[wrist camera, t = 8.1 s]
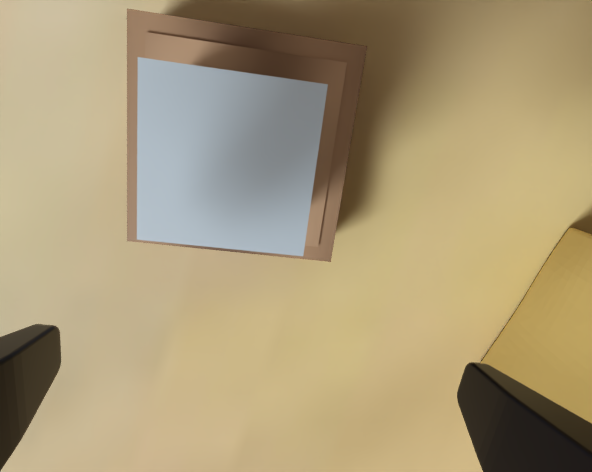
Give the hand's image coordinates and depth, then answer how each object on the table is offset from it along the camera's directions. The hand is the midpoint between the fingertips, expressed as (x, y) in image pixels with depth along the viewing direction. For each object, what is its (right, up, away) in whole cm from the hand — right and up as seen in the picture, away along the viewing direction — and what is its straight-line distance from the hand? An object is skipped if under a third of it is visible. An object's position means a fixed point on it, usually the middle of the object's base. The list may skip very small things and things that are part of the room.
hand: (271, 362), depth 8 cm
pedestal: (-2, +7, +10) cm, 13 cm away
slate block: (-2, +6, +7) cm, 10 cm away
